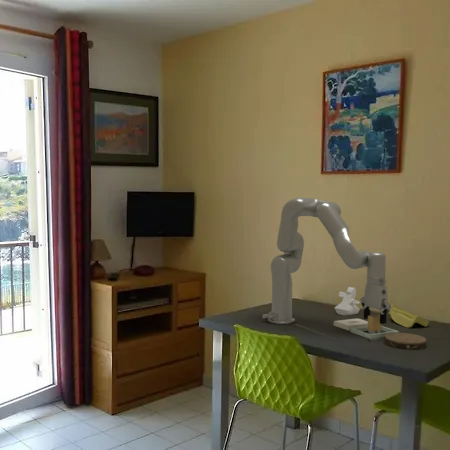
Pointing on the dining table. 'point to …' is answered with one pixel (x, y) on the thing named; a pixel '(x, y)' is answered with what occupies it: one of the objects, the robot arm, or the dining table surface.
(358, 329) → the tray
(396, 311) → the plastic component
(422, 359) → the dining table surface
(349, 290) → the white faceted figurine
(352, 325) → the block
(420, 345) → the wood slice coaster
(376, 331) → the tan rectangular block
